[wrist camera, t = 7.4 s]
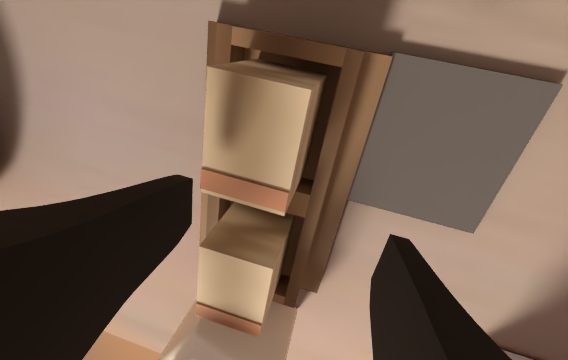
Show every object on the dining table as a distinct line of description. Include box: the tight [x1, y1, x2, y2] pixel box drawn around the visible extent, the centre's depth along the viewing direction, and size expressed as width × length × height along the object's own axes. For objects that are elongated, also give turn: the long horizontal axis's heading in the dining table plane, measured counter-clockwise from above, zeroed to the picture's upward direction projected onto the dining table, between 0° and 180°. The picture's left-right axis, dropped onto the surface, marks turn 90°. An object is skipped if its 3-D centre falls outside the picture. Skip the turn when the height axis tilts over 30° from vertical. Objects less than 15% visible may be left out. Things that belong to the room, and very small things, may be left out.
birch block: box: [200, 59, 328, 216], centre depth 14 cm, size 4×6×6 cm
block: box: [195, 202, 295, 338], centre depth 18 cm, size 4×6×6 cm
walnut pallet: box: [200, 21, 392, 308], centre depth 18 cm, size 10×17×3 cm, turn 171°
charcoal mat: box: [347, 52, 563, 233], centre depth 16 cm, size 8×9×1 cm
